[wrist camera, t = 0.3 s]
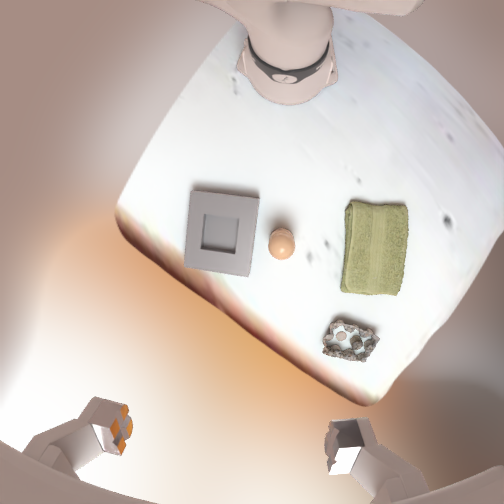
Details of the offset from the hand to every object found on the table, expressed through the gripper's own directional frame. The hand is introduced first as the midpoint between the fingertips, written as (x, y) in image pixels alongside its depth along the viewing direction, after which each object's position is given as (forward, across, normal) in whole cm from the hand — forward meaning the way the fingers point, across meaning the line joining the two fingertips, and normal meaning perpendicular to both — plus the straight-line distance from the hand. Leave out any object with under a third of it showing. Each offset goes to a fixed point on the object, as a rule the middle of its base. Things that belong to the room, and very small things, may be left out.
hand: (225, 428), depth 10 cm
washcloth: (+46, -23, +3) cm, 51 cm away
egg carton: (+45, -20, +22) cm, 54 cm away
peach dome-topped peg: (+46, -5, +2) cm, 47 cm away
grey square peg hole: (+47, +6, +2) cm, 47 cm away
